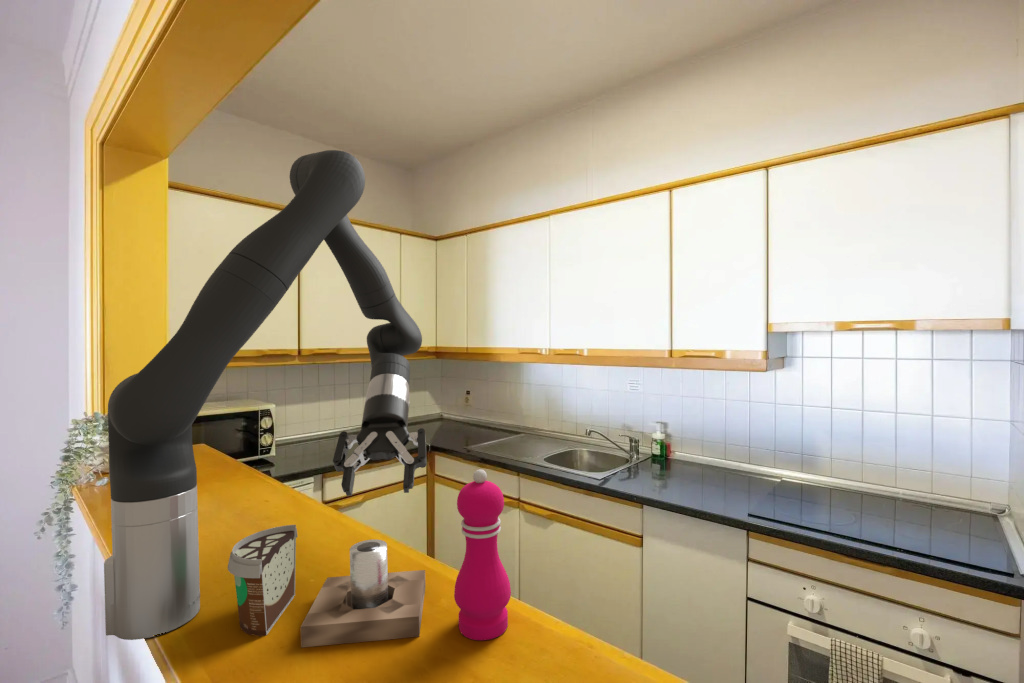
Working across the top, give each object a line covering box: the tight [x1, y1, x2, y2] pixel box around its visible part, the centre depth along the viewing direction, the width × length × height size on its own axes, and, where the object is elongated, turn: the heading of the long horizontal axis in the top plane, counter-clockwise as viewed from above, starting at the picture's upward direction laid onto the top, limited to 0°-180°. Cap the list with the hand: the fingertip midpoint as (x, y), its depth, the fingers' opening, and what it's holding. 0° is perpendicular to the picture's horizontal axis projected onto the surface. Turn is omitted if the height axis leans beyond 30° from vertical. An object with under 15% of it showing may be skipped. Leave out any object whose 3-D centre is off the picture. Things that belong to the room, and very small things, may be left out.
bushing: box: [349, 539, 389, 610], centre depth 64 cm, size 5×5×9 cm
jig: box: [300, 569, 426, 648], centre depth 64 cm, size 14×12×2 cm
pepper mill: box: [453, 469, 512, 641], centre depth 61 cm, size 7×7×20 cm
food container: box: [227, 524, 298, 637], centre depth 64 cm, size 12×6×10 cm, turn 4°
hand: (377, 492), depth 72 cm, fingers open, 8 cm apart
